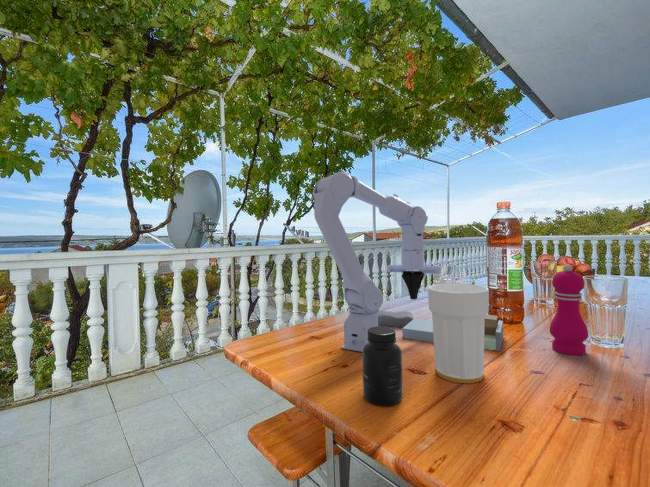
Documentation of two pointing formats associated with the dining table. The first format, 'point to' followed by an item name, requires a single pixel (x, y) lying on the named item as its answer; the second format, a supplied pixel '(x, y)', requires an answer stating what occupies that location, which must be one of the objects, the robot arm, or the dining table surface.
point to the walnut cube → (490, 325)
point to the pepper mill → (568, 314)
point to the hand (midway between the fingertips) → (413, 298)
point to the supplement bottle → (382, 367)
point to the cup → (459, 330)
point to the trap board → (425, 332)
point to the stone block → (394, 318)
